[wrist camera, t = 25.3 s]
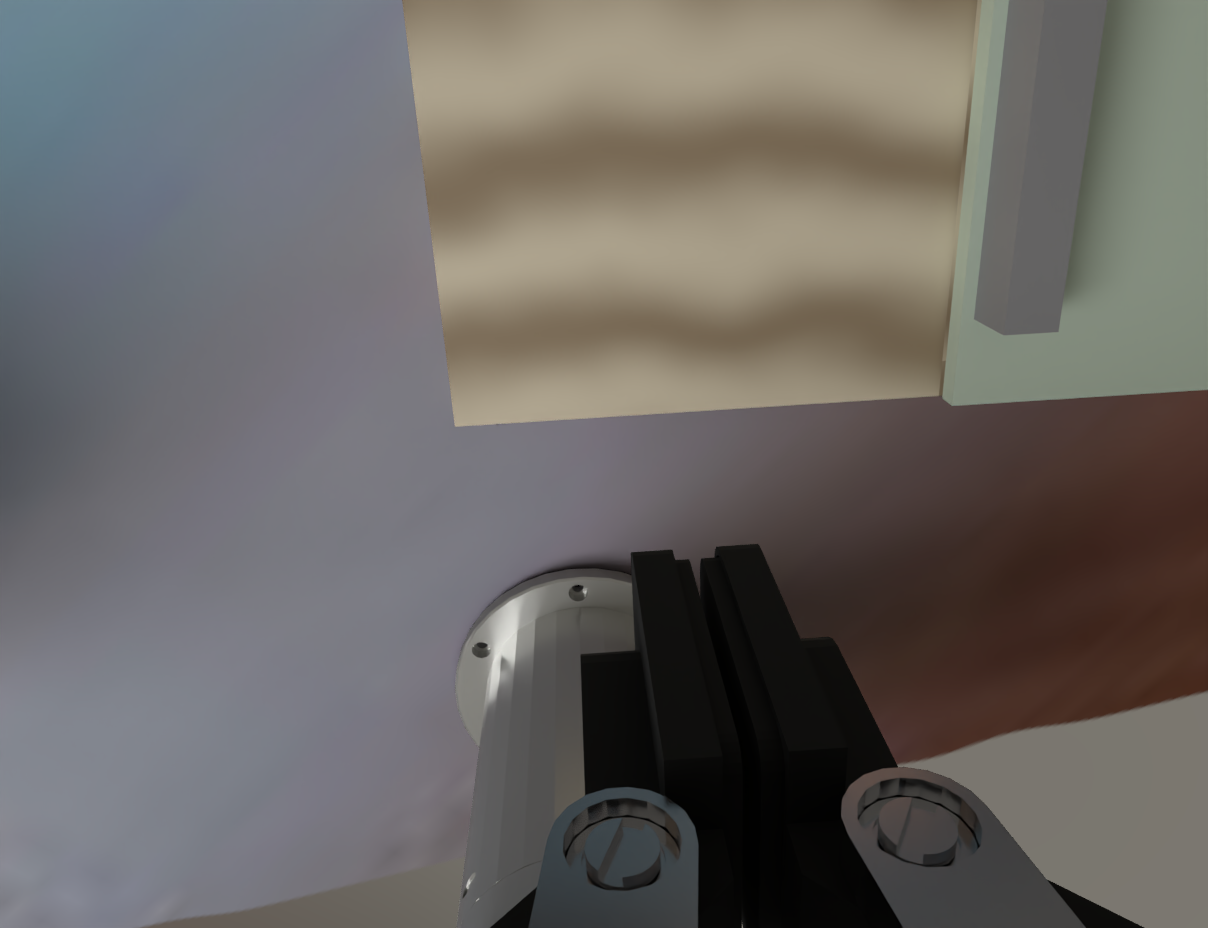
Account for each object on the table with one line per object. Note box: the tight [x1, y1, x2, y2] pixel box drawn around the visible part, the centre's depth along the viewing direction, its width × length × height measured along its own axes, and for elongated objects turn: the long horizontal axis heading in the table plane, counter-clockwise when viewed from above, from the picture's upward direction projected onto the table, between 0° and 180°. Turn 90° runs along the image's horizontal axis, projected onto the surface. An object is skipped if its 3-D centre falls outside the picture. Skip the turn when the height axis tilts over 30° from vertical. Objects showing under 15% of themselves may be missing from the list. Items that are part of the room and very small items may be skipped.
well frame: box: [402, 0, 982, 427], centre depth 34 cm, size 19×39×2 cm, turn 93°
